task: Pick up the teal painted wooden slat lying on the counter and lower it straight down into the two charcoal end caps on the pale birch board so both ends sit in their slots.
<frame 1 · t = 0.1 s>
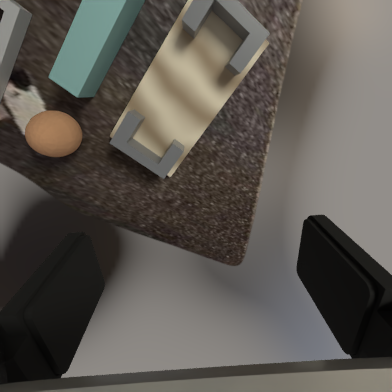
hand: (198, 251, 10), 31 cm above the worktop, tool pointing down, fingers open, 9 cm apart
end caps: (183, 92, 32), on the base board, point 4 cm above the worktop
base board: (183, 93, 35), on the worktop
egg: (70, 129, 38), on the worktop
slat: (110, 33, 32), on the worktop
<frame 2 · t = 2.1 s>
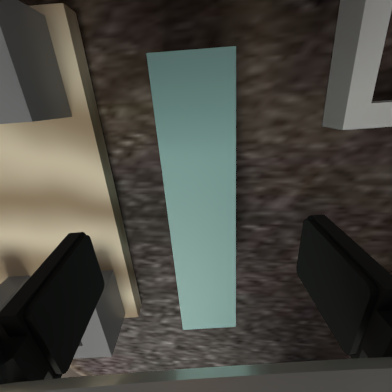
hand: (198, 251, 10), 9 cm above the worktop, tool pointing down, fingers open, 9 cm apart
end caps: (16, 221, 16), on the base board, point 4 cm above the worktop
base board: (47, 200, 19), on the worktop
slat: (199, 189, 19), on the worktop
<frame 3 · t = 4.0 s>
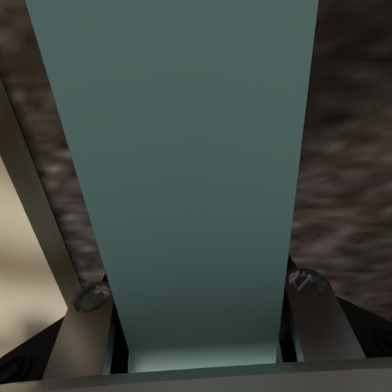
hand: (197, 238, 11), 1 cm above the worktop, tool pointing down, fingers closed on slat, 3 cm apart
slat: (197, 232, 12), on the worktop, touching gripper
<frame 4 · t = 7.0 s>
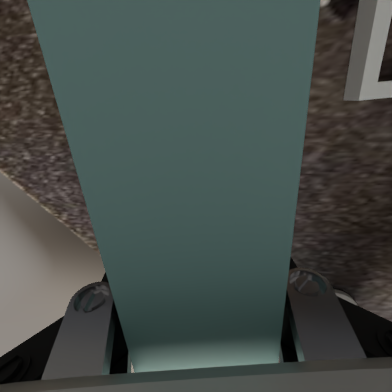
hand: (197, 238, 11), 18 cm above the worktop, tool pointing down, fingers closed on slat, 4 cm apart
slat: (198, 237, 12), point 17 cm above the worktop, touching gripper
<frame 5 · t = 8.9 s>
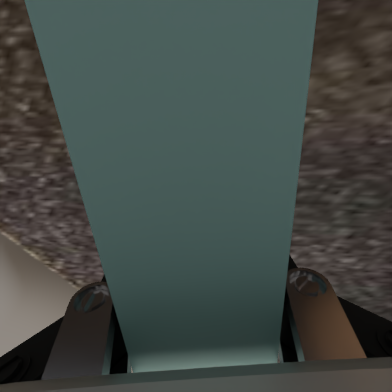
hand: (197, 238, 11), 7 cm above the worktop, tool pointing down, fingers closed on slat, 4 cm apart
slat: (197, 237, 12), point 6 cm above the worktop, touching gripper
when the fingers open (3 cm above the worktop, at t = 10.3 s): slat drops 1 cm, resting on base board.
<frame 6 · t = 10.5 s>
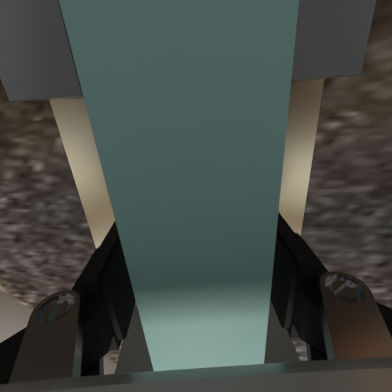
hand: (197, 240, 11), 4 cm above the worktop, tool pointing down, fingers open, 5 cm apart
end caps: (197, 240, 11), on the base board, point 4 cm above the worktop
base board: (195, 206, 14), on the worktop
slat: (198, 225, 13), point 1 cm above the worktop, touching base board
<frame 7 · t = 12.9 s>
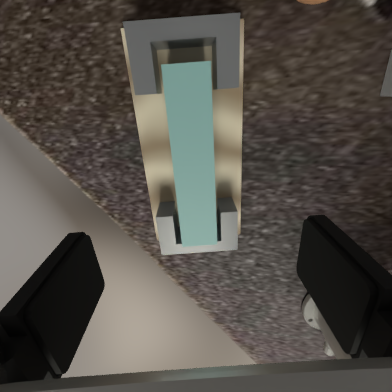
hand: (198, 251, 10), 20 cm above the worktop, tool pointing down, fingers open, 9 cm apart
end caps: (192, 155, 25), on the base board, point 4 cm above the worktop
base board: (191, 148, 28), on the worktop
slat: (193, 154, 27), point 1 cm above the worktop, touching base board
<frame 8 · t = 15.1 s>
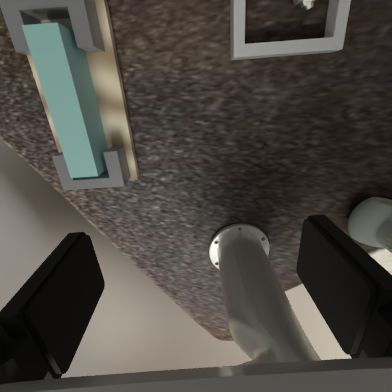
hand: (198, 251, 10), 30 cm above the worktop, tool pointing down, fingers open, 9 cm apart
air freshener: (367, 213, 45), on the worktop
end caps: (77, 105, 32), on the base board, point 4 cm above the worktop
base board: (87, 104, 35), on the worktop
slat: (85, 107, 34), point 1 cm above the worktop, touching base board
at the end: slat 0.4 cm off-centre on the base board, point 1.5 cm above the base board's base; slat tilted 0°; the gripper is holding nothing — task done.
